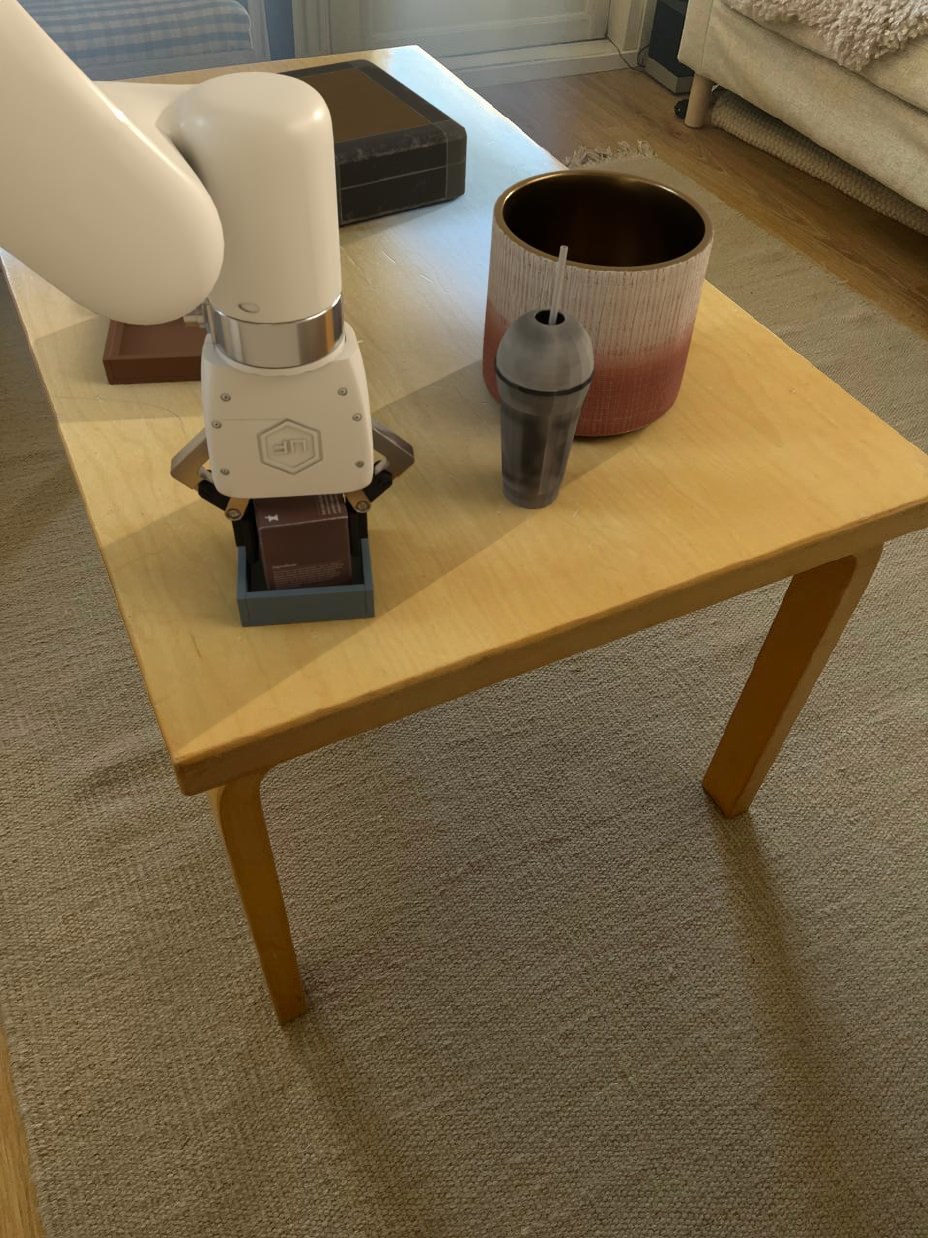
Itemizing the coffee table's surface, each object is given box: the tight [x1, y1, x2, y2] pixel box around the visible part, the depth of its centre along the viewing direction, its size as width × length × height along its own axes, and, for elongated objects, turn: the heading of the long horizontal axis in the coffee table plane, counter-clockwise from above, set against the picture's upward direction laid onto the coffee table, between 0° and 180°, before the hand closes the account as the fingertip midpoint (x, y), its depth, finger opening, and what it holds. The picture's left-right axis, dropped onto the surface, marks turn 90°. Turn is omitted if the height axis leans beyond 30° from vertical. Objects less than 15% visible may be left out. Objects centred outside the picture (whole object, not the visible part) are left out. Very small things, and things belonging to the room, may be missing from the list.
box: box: [253, 493, 353, 591], centre depth 69 cm, size 6×6×7 cm
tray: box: [102, 316, 207, 385], centre depth 91 cm, size 15×13×2 cm
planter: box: [481, 168, 715, 438], centre depth 84 cm, size 18×18×16 cm
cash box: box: [274, 58, 468, 227], centre depth 115 cm, size 25×20×8 cm
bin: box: [236, 537, 376, 627], centre depth 71 cm, size 9×9×3 cm
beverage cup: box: [494, 246, 595, 509], centre depth 72 cm, size 7×7×20 cm
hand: (303, 544), depth 70 cm, fingers closed on box, 6 cm apart
